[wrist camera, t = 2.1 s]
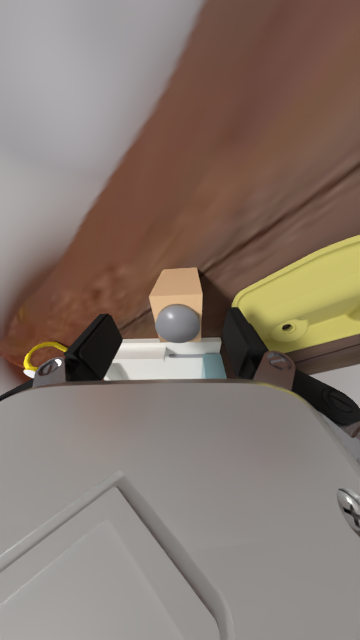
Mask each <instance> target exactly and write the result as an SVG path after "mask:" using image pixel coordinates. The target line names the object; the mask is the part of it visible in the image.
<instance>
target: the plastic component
mask: <svg viewBox="0 0 360 640" xmlns="http://www.w3.org/2000/svg"><path fill="white" fill-rule="evenodd" d="M232 307H238V308H239V309H240V311H241V312H242V314H243V315H244V317H245V318H246V320H247V321H248V323H250V324H251V325H252V326H253V327H254V329H255V330H256V332H257V333H258V335H259V336H260V338H261V339H262V341H263V342H264V344H265V345H266V347H267V348H268V349H269V351H272V350H273V351H278V352H281V353H287V352H291V351H294V350H298V349H302V348H306V347H310V346H314V345H318V344H321V343H325V342H329V341H333V340H337V339H341V338H345V337H349V336H352V335H356V334H360V235H358V236H354V237H351V238H348V239H346V240H343V241H340V242H337V243H335V244H332V245H330V246H327V247H325V248H323V249H320V250H318V251H315V252H313V253H312V254H310V255H308V256H306V257H304V258H302V259H300V260H298V261H296V262H294V263H293V264H291V265H289V266H287V267H285V268H283V269H281V270H279V271H277V272H275V273H274V274H272V275H270V276H268V277H266V278H264V279H262V280H260V281H258V282H256V283H255V284H253V285H251V286H249V287H247V288H245V289H243V290H241V291H240V292H239V293H238V294H237V295H236V297H235V298H234V300H233V303H232ZM285 324H290V325H291V327H288V328H286V329H282V327H283V325H285Z"/></svg>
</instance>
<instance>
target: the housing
mask: <svg viewBox="0 0 360 640" xmlns="http://www.w3.org/2000/svg"><path fill="white" fill-rule="evenodd" d="M220 347H221V338H220V337H215V338H201V342H185V343H172V342H160V340H159V339H123V341H122V344H121V346H120V348H119V350H118V352H117V354H116V356H115V358H114V360H113V362H112V364H111V366H110V368H109V370H108V371H107V373H106V375H105V377H104V379H105V380H149V379H201V375H202V357H203V354H219V353H220Z"/></svg>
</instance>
